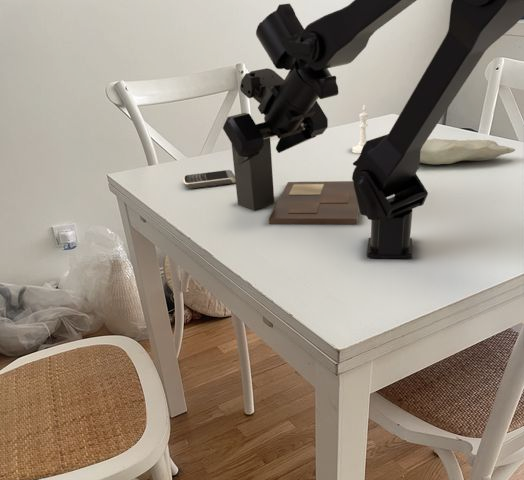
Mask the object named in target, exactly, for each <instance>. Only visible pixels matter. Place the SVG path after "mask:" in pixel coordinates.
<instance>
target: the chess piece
mask: <svg viewBox="0 0 524 480" xmlns="http://www.w3.org/2000/svg"><path fill="white" fill-rule="evenodd" d="M361 111H362V112H361V113H359V115H358V117H359V120H360V123H359V124H358V127H359V128H360V134H359V140H358V143H357V144H356V145H354V146H352V147H351V152H353V153H354V154H361V151H362V149H363V146H364V145H365V143H366V142H367V133H366V127H369V124H368V123H367V120H368V116H369V113H367V112H366V104H362V108H361Z"/></svg>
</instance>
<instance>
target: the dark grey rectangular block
mask: <svg viewBox="0 0 524 480" xmlns="http://www.w3.org/2000/svg"><path fill="white" fill-rule="evenodd" d="M271 145H272V144H271V138H267V139H264V146H263V148H262V149H261V150H260V151H259V154H258V155H256V156H254V157H253V158H251V159H249V160H248V161H246V162H244V163H242V164H241V165H238V164H237V162H236V150H235V148H234V146H233V145H232V144H231V151H232V162H233V171H234V172H233V173H234V176H235V191H236V199H237V200H236V201H237V205H238V206H240V207H242V208H243V207H244V208H247V209H249V210H252V211H256V210H259V209H262V208H265V207H268V206H270V205H273V204H275V193H274V191H275V190H274V177H273V176H274V175H273V161H272V146H271Z"/></svg>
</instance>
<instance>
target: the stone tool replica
mask: <svg viewBox="0 0 524 480" xmlns="http://www.w3.org/2000/svg"><path fill="white" fill-rule="evenodd" d="M515 151H516V149H515V148H514V147H509V146H505V145H500V144H498V143H497V142H496V141H494V140H490V139H466V140H463V139H462V140H458V139H446V138H445V139H444V138H443V139H441V138H428V139H427V140H426V142H425V143H424V145H423V146H422V148H421V151H420V164H423V165H424V164H425V165H433V166H434V165H436V166H437V165H450V164H454V163H457V162H462V161H471V162H475V161H476V162H481V161H490V160H493V159H495V158H498V157H501V156H503V155H508V154H511V153H514V152H515Z"/></svg>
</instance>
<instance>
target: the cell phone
mask: <svg viewBox="0 0 524 480" xmlns="http://www.w3.org/2000/svg"><path fill="white" fill-rule="evenodd" d="M182 181H183V182H182V183H183V185H184V186H185V188H186V189H187V190H188V189H189V190H191V189H192V190H193V189H200V188H208V187H214V186H224V185H230V184H231V185H232V184H236V182H235V173H234V172H233V171H232V170H231V169H226V170H217V171H211V172H210V171H209V172H201V173H192V174H186V175H184V176H183V178H182Z"/></svg>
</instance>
